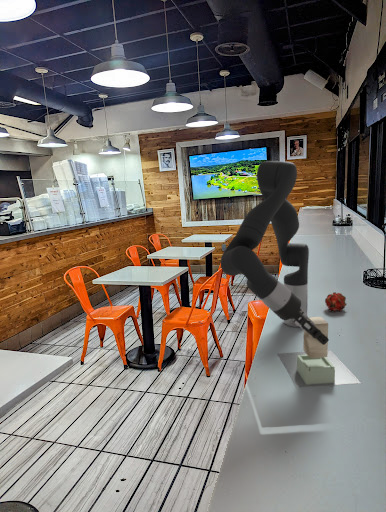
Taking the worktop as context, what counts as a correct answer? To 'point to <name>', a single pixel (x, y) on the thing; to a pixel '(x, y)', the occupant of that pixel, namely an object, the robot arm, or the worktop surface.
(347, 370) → the grey flat plate
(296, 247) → the robot arm
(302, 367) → the green plinth
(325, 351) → the birch pillar
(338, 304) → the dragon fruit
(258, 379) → the worktop surface
